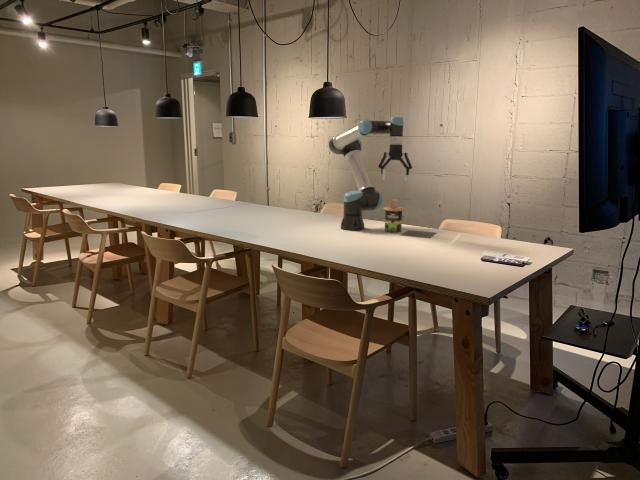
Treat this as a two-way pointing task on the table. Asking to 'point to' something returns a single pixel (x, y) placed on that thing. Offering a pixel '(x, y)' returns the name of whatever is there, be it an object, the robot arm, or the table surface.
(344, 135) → the robot arm
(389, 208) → the lid
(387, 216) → the coffee can
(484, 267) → the table surface
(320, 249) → the table surface
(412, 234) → the mat
